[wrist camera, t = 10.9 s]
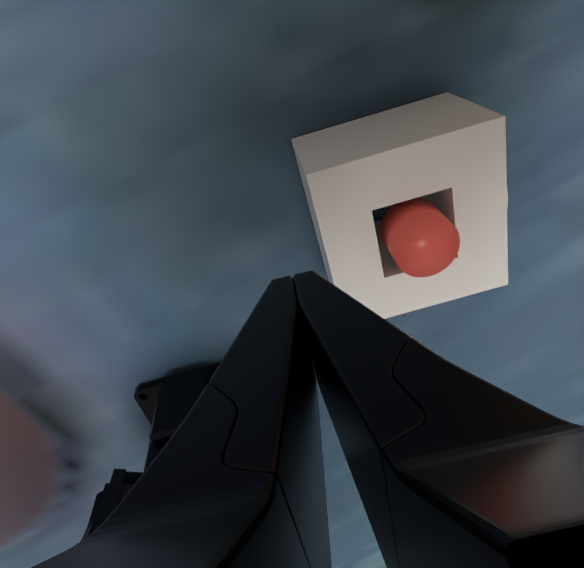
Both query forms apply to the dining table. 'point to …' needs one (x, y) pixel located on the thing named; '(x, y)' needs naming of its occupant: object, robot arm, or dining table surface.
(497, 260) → the white button housing
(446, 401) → the robot arm
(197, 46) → the dining table surface
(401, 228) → the button
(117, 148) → the dining table surface
